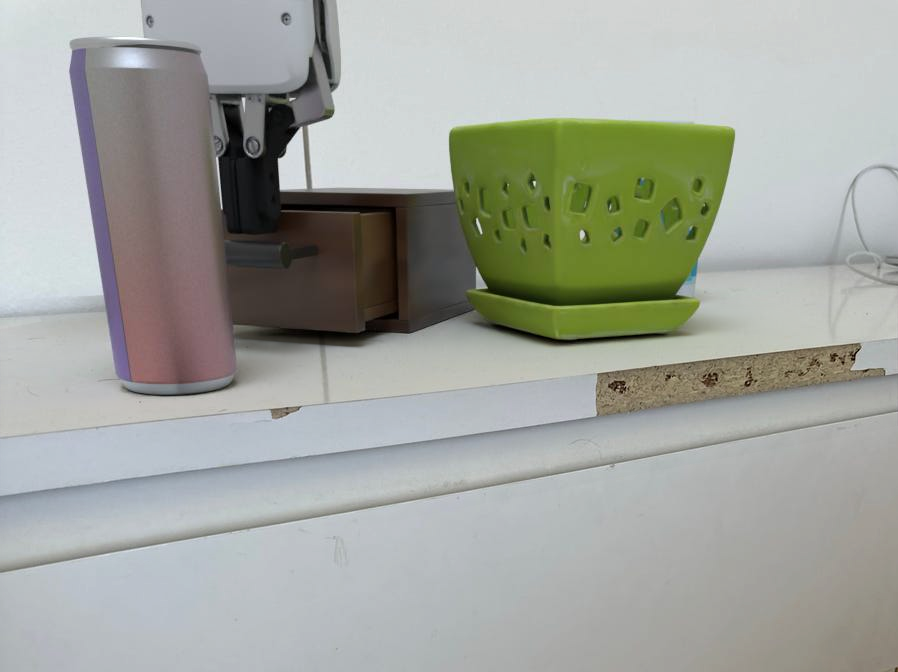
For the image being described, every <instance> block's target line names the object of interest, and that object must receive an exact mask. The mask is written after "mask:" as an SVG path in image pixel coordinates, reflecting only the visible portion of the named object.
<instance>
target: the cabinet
mask: <svg viewBox="0 0 898 672" xmlns="http://www.w3.org/2000/svg"><path fill="white" fill-rule="evenodd" d="M280 200H281V208H291V207H305V206H316V207H358V208H396V232H397V269H398V306H399V311H397V312H394V313H391V314H388V315H385V316H381V317H378V318H375V319H372V320H368V321H365V330H364V331H370V332H371V331H372V332H373V331H374V332H387V333H403V334H411V333H413V332H416V331H419V330H421V329H424V328H427V327H429V326H433V325H435V324H437V323H440V322H443V321H445V320H446V321H447V320H449V319H452V318H454V317H457V316H459V315H462V314H465V313H467V312H470V311H473V310H476V309H475V308H474V307H473V306H472V304H471V303H470V301H469V300H468V298H467V296H466V291H467V290H471V289H477V267H476V265H475V263H474V260H473V258H472V256H471V253H470V251H469V248H468V245H467V242H466V239H465V236H464V233H463V230H462V226H461V222H460V218H459V214H458V210H457V205H456V200H455V194H454V189H450V188H449V189H448V188H447V189H446V188H444V189H443V188H391V187H390V188H388V187H387V188H385V187H317V188H315V187H313V188H291V189H289V188H287V189H286V188H285V189H280Z"/></svg>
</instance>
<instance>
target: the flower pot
mask: <svg viewBox="0 0 898 672" xmlns="http://www.w3.org/2000/svg"><path fill="white" fill-rule="evenodd" d="M735 140H736V130H735V128H733V127H731V126H726V125H714V124H713V125H712V124H701V123H694V124H689V123H668V122H652V121H637V120H629V119H627V120H626V119H610V118H609V119H607V118H579V117H552V118H551V117H550V118H548V117H547V118H533V119H532V118H530V119H521V120H510V121H509V120H508V121H497V122H488V123H477V124H469V125H460V126H453V127H452V128H451V129H450V130H449V133H448V153H449V162H450V164H449V165H450V172H451V181H452V186H453V187H452V188H453V190H454V194H455V200H456V205H457V210H458V214H459V218H460V222H461V226H462V230H463V233H464V236H465V239H466V242H467V245H468V248H469V251H470V253H471V256H472V258H473V260H474V263H475V265H476V270H477V271H478V273H479V276H480V277H481V279H482V281H483V282H484V284H485V286H486V288H476V289H471V290H467V291H466V296H467V298H468V300H469V301H470V303H471V304H472V306H473V307H474V308H475V309H474V310H476V312H478V314H479V315H480V316H481V317H482V318H483V319H485V320H486V321H488V322H489V324H491V325H499V326H503V327H506V328H510V329H514V330H518V331H521V332H526V333H529V334H533V335H536V336H537V335H538V336H542V337H545V338H549V339H555V340H562V341H576V340H578V339H579V340H580V339H593V338H594V339H595V338H608V337H609V338H610V337H623V336H635V335H649V334H650V335H651V334H656V335H657V334H658V335H667V334H668V333H669V332H672V331H675V330H677V329H678V328H680V327H681V326H683V325H684V324H685V323H686V322H688V321H689V319H690V318H692V316H693V315H694V314H695V313H696V312H697V311H698V309H699V307H700V305H701V301H700V299H699V298H697V297H694V296H693V297H687V296H682V295H676V294H677V292H678V291H679V289H680V288H681V287H682V285H683V284H684V282H685V281H686V279H687V278H688V276H689V275H690V273H691V271H692V269H693V268H694V266H695V264H696V262H697V260H698V261H699V259H700V256H701V254H702V252H703V250H704V248H705V245H706V243H707V241H708V239H709V237H710V235H711V233H712V231H713V230H712V229H713V227H714V224H715V221H716V218H717V216H718V213H719V210H720V207H721V203H722V200H723V197H724V194H725V189H726V186H727V181H728V178H729V173H730V168H731V163H732V158H733V153H734V147H735ZM642 178H644V183H643V185H642V186H641V179H642ZM534 182H535V184H534ZM636 197H637V198H636ZM639 198H640V199H639ZM611 204H612V207H611ZM703 205H704V206H703ZM677 207H678V209H677ZM661 212H662V215H663V220H664V225H663V222H662V218H661ZM477 221H478V222H477ZM478 223H479V226H480V228H479V226H478ZM691 226H693V227H692V229H691V231H690V233H689V234H688V235H687V233H688V230H689V228H690V227H691ZM618 228H619V235H618V234H617V233H616V231H617V229H618ZM480 229H481V231H480ZM581 231H583V233H584V236H583V238H581ZM481 232H482V233H481Z"/></svg>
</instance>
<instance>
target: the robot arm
mask: <svg viewBox="0 0 898 672" xmlns="http://www.w3.org/2000/svg"><path fill="white" fill-rule="evenodd" d="M337 5H338V3H337V0H140V8H141V10H140V11H141V20H142V32H143V33H142V34H143V38H156V39H167V40H176V41H183V42H189V43H193V44H196V45H198V46H200V48H201V53H200V57H201V60H202V62H203V65H204V67H205V70H206V72H207V75H208V82H209V92H210V102H211V112H212V122H213V132H214V142H215V152H216V158H217V160H218V161H217V162H218V164H217V165H218V176H219V188H220V199H221V209H223V212H224V214H225V216H226V225H227V230H228V232H229V233H230V234H247V235H259V234H268V233H276V232H277V231H278V227H279V225H278V218H279V217H280V214H281V200H280V190H281V186H280V184H281V183H280V171H279V170H280V169H279V159H282V158H283V157H285V155H286V154H287V148H288V145H289V143H290V142H291V141H292V140H293V138H294V137H295V135H296V134H297V133H298V131H299V130H300V129H301V128H302V127H307V126H311V125H314V124H317V123H320V122H323V121H327V120H330V119H331V118H333V117H334V115H335V111H336V109H335V103H334V99H333V93H334V92H335V91H336V90H337V89H339V86H340V83H341V78H342V53H341V37H340V23H339V14H338V6H337ZM243 99H244V102H243Z"/></svg>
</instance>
